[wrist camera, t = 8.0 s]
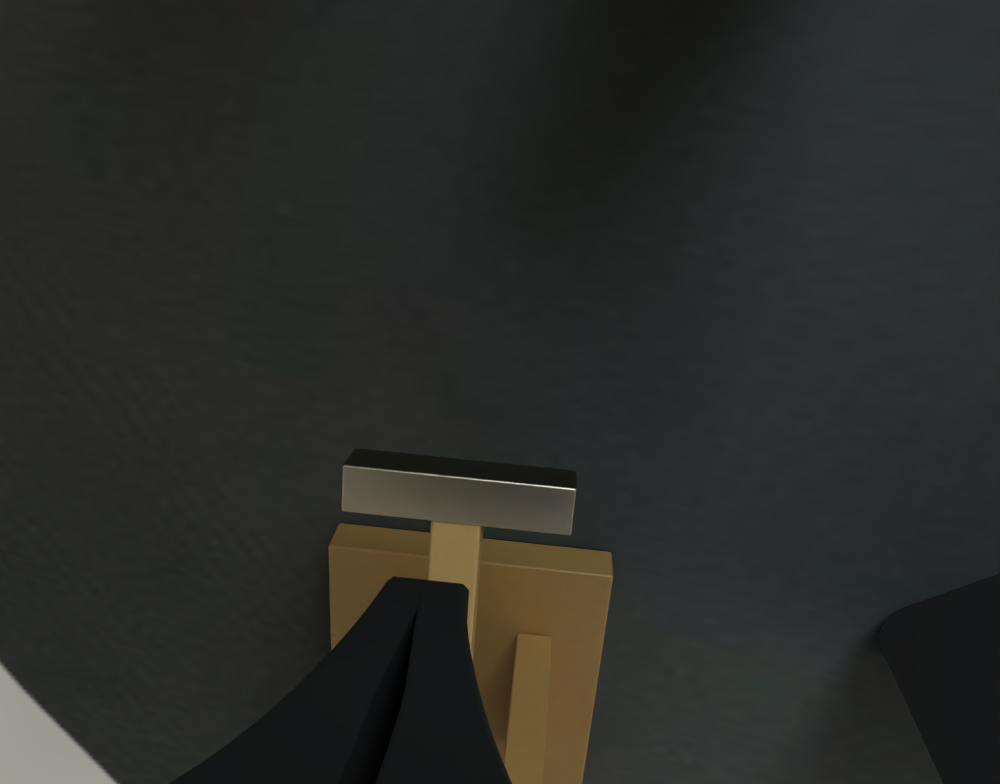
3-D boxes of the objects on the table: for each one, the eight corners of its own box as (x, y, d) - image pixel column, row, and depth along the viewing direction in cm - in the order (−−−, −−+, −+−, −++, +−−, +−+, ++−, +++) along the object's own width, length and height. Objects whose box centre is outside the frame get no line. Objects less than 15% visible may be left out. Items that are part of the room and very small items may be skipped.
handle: (361, 437, 20) (333, 476, 17) (576, 459, 19) (577, 501, 17) (348, 821, 23) (323, 897, 20) (533, 844, 22) (529, 924, 20)
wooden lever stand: (338, 521, 25) (240, 730, 18) (612, 550, 24) (624, 776, 17) (343, 744, 28) (264, 989, 21) (579, 773, 28) (578, 1031, 21)
